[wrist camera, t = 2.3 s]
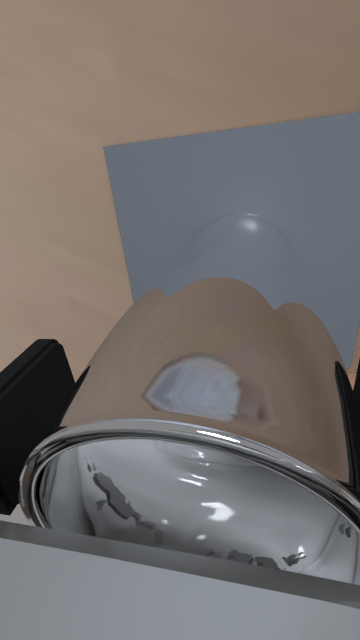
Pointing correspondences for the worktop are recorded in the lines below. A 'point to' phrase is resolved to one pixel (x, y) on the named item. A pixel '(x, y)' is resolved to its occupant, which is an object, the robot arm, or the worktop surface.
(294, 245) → the blue-grey tile
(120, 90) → the worktop surface
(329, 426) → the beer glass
